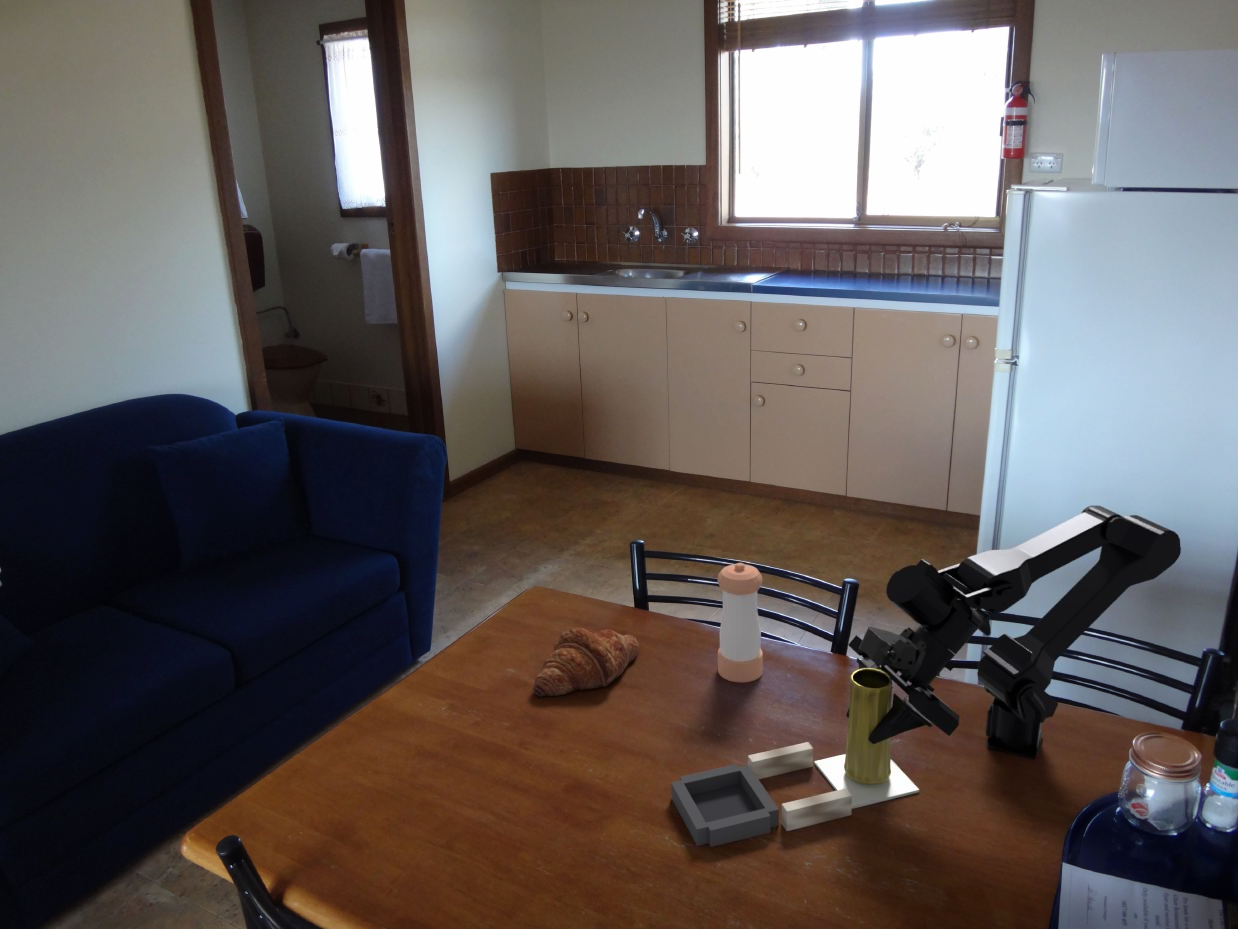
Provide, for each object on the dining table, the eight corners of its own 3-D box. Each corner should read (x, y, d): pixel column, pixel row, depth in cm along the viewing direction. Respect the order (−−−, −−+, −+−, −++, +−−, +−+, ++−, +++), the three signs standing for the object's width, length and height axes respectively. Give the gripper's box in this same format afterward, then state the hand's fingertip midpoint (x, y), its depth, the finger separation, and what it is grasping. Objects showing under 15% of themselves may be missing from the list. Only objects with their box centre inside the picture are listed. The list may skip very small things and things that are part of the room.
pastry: (553, 645, 166) (550, 604, 163) (641, 648, 164) (639, 606, 161) (532, 699, 150) (528, 654, 147) (628, 703, 148) (626, 657, 145)
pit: (746, 777, 129) (746, 761, 128) (781, 829, 119) (781, 813, 118) (669, 794, 126) (669, 779, 126) (699, 850, 116) (698, 833, 115)
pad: (878, 748, 134) (878, 746, 134) (919, 792, 125) (919, 789, 124) (814, 763, 131) (814, 761, 131) (850, 809, 122) (850, 806, 122)
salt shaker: (765, 682, 151) (766, 573, 145) (719, 683, 151) (718, 574, 145) (759, 658, 158) (760, 553, 152) (716, 659, 158) (714, 555, 152)
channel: (807, 760, 132) (808, 742, 131) (851, 815, 121) (852, 795, 120) (747, 774, 130) (747, 755, 129) (786, 831, 119) (787, 811, 118)
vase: (892, 787, 124) (897, 692, 119) (844, 783, 125) (847, 689, 121) (889, 758, 130) (894, 667, 125) (843, 755, 131) (846, 664, 126)
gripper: (862, 579, 129) (788, 666, 130) (943, 643, 112) (857, 742, 113) (910, 620, 134) (839, 703, 135) (995, 688, 117) (913, 783, 118)
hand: (859, 730), depth 125 cm, fingers closed on vase, 5 cm apart
